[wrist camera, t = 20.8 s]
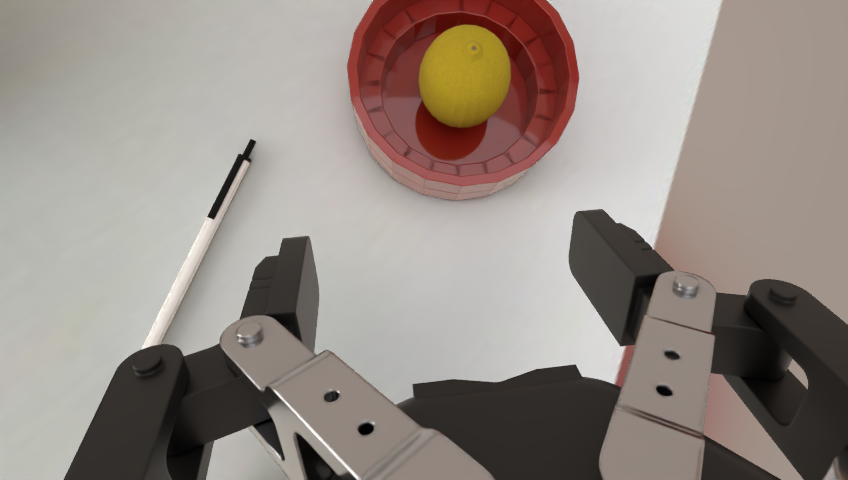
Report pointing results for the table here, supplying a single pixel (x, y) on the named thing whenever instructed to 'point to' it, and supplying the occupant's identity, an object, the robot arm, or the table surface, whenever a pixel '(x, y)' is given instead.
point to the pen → (199, 248)
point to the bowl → (450, 146)
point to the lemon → (464, 76)
